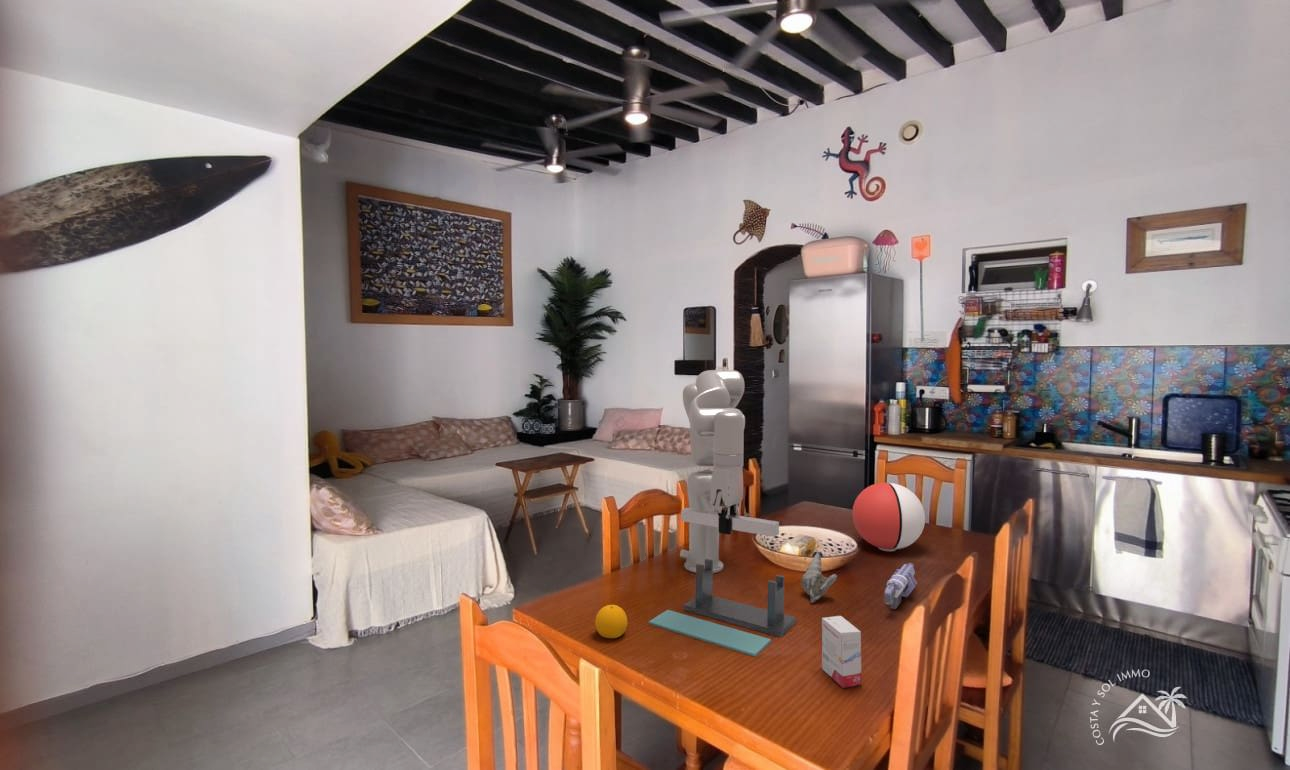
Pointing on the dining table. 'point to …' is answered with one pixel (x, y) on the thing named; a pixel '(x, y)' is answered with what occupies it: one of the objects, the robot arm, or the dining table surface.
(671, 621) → the mat
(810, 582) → the seashell
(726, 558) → the dining table surface
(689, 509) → the rail
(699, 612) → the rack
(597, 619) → the yellow orange fruit
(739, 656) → the dining table surface
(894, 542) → the ball
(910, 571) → the toy gun
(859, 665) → the ink box
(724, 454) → the robot arm
